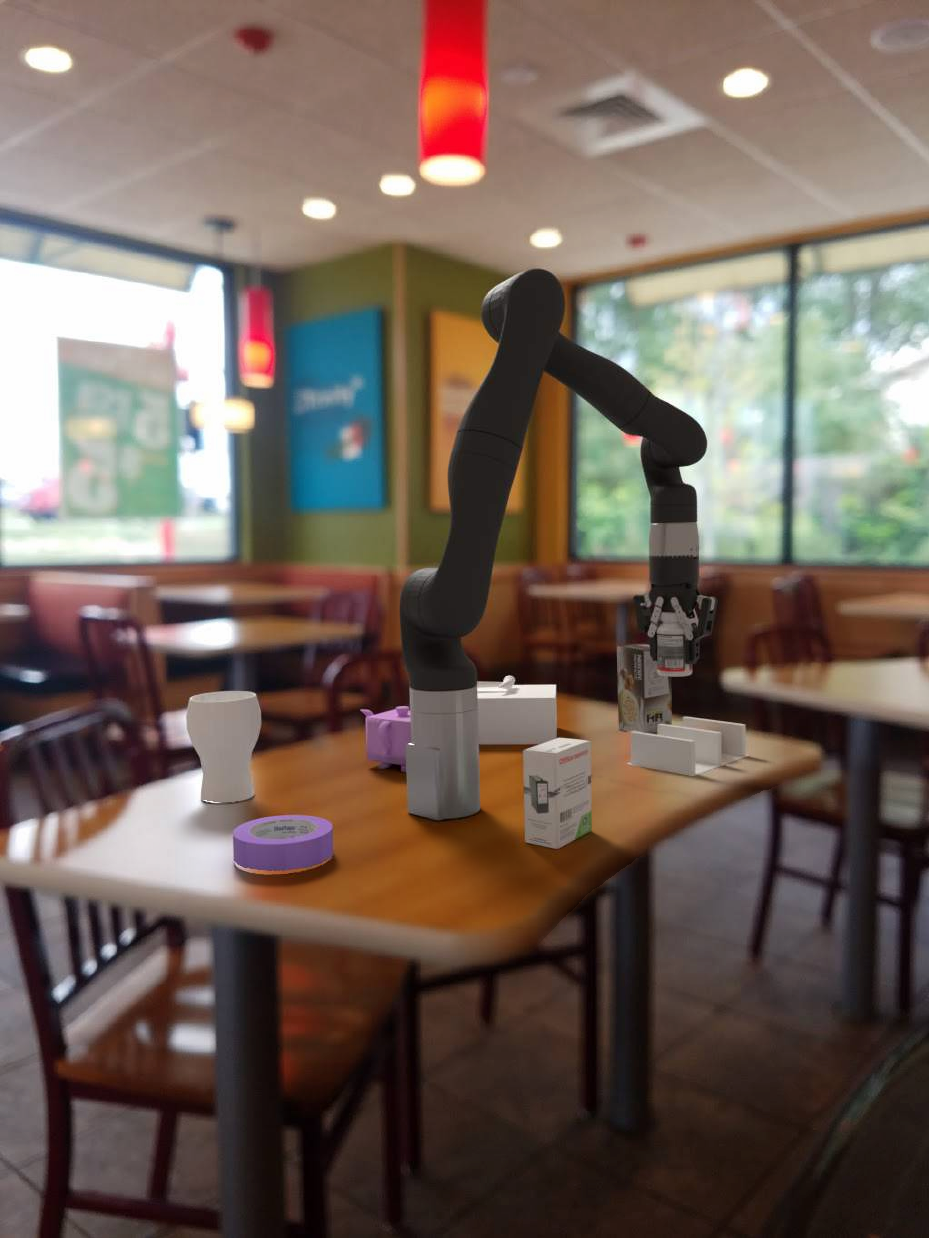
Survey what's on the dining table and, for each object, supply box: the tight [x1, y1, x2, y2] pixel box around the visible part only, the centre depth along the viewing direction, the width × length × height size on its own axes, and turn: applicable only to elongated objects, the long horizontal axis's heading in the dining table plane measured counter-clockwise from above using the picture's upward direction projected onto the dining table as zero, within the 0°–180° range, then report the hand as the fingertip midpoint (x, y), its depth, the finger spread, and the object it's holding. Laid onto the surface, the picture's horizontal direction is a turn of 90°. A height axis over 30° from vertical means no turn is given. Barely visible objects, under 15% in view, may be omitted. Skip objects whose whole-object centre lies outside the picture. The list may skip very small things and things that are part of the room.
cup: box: [185, 690, 262, 803], centre depth 141 cm, size 11×11×15 cm
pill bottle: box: [657, 612, 693, 677], centre depth 149 cm, size 5×5×10 cm
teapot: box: [360, 705, 411, 773], centre depth 158 cm, size 18×13×10 cm
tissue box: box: [477, 675, 558, 745], centre depth 179 cm, size 14×25×11 cm, turn 84°
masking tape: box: [232, 814, 334, 871], centre depth 114 cm, size 12×12×4 cm
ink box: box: [522, 737, 593, 850], centre depth 119 cm, size 9×5×12 cm, turn 142°
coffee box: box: [616, 643, 673, 734], centre depth 179 cm, size 9×6×16 cm
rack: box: [626, 716, 750, 777], centre depth 153 cm, size 17×12×6 cm
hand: (674, 661), depth 149 cm, fingers closed on pill bottle, 5 cm apart
